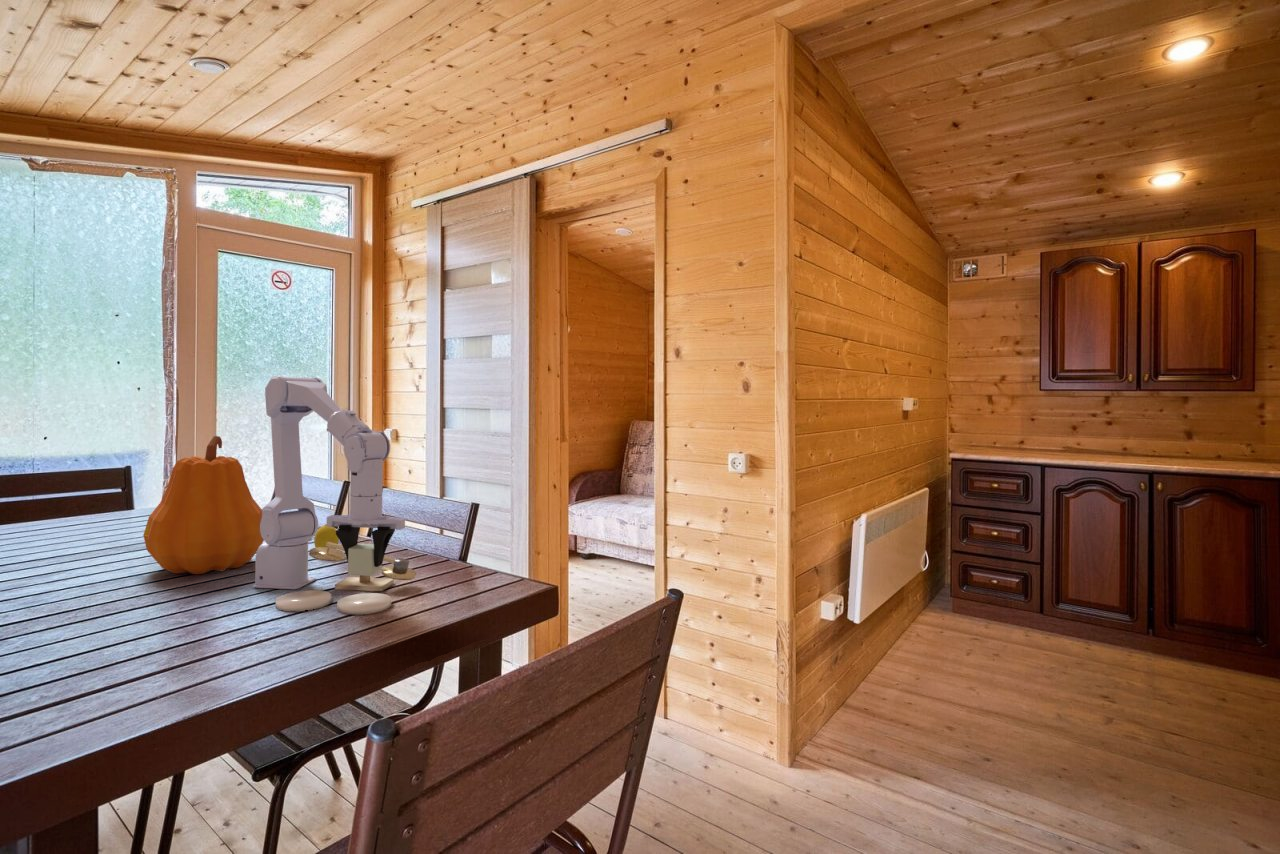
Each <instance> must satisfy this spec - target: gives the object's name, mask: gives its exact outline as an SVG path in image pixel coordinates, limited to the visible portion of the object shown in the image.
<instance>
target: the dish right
mask: <svg viewBox="0 0 1280 854" xmlns="http://www.w3.org/2000/svg"><path fill="white" fill-rule="evenodd" d="M336 603H337V604H336V605H337V609H336V610H337V611H338V612H339V613H341V614H345V615H346V614H347V615H353V616H354V615H355V616H356V615H369V614H375V613H380V612H383V611H385V610H387V609H389V608H390V607H391V606H392V596H390V595H388V594H386V593H385V594H384V593H380V592H379V593H378V592H363V593H356V594H352V595H351V594H350V595H347V596H344V597H342V598H340V599H339V600H337V602H336Z"/></svg>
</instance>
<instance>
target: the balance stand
mask: <svg viewBox="0 0 1280 854" xmlns="http://www.w3.org/2000/svg"><path fill="white" fill-rule="evenodd" d="M394 580H395V579H392V578H387V577H386V578H383V577H382V578H380V577H371V576H362V575H359V576H347V577H345V578H344V579H342V580H341V581H339V582H337V583H335V584H334V589H335V590H342V591H343V590H345V591H366V592H383V591H385V590H386V589H388V588H389V587H391V586H392V585H394V583H395V581H394Z"/></svg>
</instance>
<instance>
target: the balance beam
mask: <svg viewBox="0 0 1280 854" xmlns="http://www.w3.org/2000/svg"><path fill="white" fill-rule="evenodd" d="M326 546H328V548H326V547H317V548H316V547H313V548H311V549H310V550H308V556H310V557H311V558H313V559H316V560H319V561H325V562H326V561H327V562H339V561H343V560H345V557H346V554H345V551H344V548H343V546H342V544H339V543H338V544H336V543H332V542H327V543H326ZM330 547H332V548H330ZM333 548H336V549H333ZM383 562H387V563H391V564H393V565H387V566H382V570H381V574H382V575H383V576H385V577H386V578H388V579H394V580H397V581H411V580H414V579H416V577H417V572H416V571H415V570H414V569H412V568H409V565H410V560H409V559H407V558H403V557H396V558H392V557H389V556H385V555H384V558H383Z"/></svg>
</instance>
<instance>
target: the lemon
mask: <svg viewBox="0 0 1280 854" xmlns="http://www.w3.org/2000/svg"><path fill="white" fill-rule="evenodd" d="M336 530H337V529H336V527H335V526H333V527H327V523H326V524H324V525H322V526H320V527H318V529H317V531H316V533H315V535H314V540H313V541H314V542H313V543H314V548H317V547H326V548H328V546H326V543H327V542H332V543H336V544H339V542H340V540H339V538H338V537H337V535H336ZM330 548H332V547H330ZM333 549H336V548H333Z"/></svg>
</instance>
